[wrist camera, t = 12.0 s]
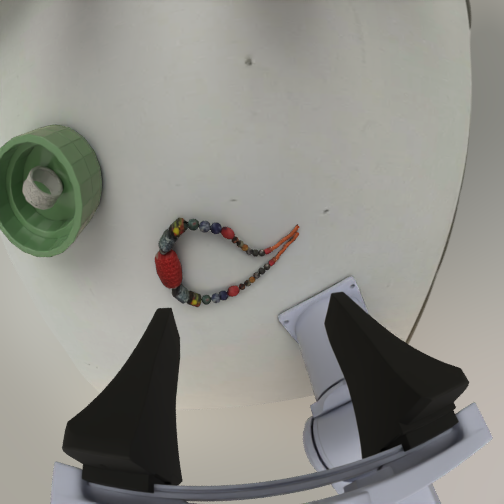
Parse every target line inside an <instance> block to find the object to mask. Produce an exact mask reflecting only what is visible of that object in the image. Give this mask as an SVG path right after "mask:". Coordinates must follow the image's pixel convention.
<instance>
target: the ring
mask: <svg viewBox="0 0 504 504" xmlns="http://www.w3.org/2000/svg"><path fill="white" fill-rule="evenodd" d="M50 172H52V173H50ZM55 176H56V177H55ZM33 181H38V182H41V183H43V184H44V185H45V186H46V187H47V188H48V189H49V190H50V192H51V194H47V193H45V192H43V191H42V190H40V189H39V188H38V187H37V185H36V184H35V183H34V182H33ZM62 191H63V185H62V182H61V180H60V178H59V176H58V175H57V174H56V173H55V172H54V171H53V170H51V169H49V168H48V167H44V166H36V167H34V168H32V169H31V171H30V172H29V175H28V177H27V179H26V180H25V181H24V184H23V191H22V192H23V194H24V196H25V198H26V200H27V201H28V202H29V203H30V204H31V205H32V206H34V207H35V208H39V209H42V210H45V209H49V208H52V207H53V205H54V203H55V202H56V201H57V198H59V197H60V195H61V193H62ZM31 201H32V202H31Z"/></svg>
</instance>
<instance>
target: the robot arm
mask: <svg viewBox="0 0 504 504" xmlns="http://www.w3.org/2000/svg"><path fill="white" fill-rule="evenodd" d="M352 284H353V285H352ZM351 285H352V286H351ZM278 319H279V321H280V323H281V324H282V325H283V326H284V327H285V329H286V330H287V331H288V332H289V333H290V335H291V336H292V337H293V338H294V339H295V341H296V342H297V343H298V344H299V346H300V349H301V353H302V356H303V359H304V362H305V366H306V369H307V372H308V375H309V378H310V382H311V385H312V388H313V392H314V395H315V398H316V401H317V402H315V403H314V404H312V405H311V406H310V407H311V411H312V414H313V416H311V417H310V418H308V419H307V421H306V423H305V428H304V431H303V444H304V448H305V452H306V455H307V457H308V459H309V461H310V463H311V465H312V466H313V467H314V469H315V470H316V471H317V472H316V473H311V474H307V475H302V476H298V477H292V478H287V479H281V480H274V481H267V482H259V483H250V484H239V485H223V486H177V485H179V484H180V483H181V482H182V475H181V469H180V461H179V453H178V443H177V429H176V393H177V382H178V373H179V363H180V337H179V333H178V330H177V326H176V323H175V319H174V316H173V312H172V308H158V309H157V310H156V312H155V314H154V316H153V318H152V320H151V322H150V324H149V325H148V327H147V329H146V331H145V333H144V334H143V336H142V338H141V339H140V341H139V343H138V345H137V346H136V348H135V349H134V351H133V352H132V354H131V355H130V357H129V359H128V360H127V361H126V363H125V364H124V366H123V367H122V368H121V370H120V371H119V372H118V374H117V375H116V376H115V377H114V379H113V380H112V381H111V382H110V383H109V384H108V386H107V387H106V388H105V389H104V390H103V391H102V392H101V393H100V394H99V395H98V396H97V397H96V398H95V399H94V400H93V401H92V402H91V403H90V404H89V405H88V406H87V407H86V408H85V409H83V410H82V411H81V412H80V413H78V414H77V415H76V416H75V417H73V418H72V419H71V420H69V421H68V423H67V426H66V429H65V434H64V440H63V446H62V449H63V451H64V452H65V453H66V454H67V455H69V456H70V457H72V458H74V459H75V460H77V461H79V462H80V463H82V464H83V470H82V469H80V468H77V467H74V466H70V465H66V464H63V463H60V462H55V463H54V470H53V479H52V490H51V504H194V503H188V502H186V501H231V500H244V499H255V498H264V497H271V496H277V495H284V494H290V493H295V492H300V491H304V490H309V489H314V488H318V487H322V486H325V485H329V484H331V485H332V487H333V488H334V489H335V490H336V492H337V493H338V494H339V495H336V496H333V497H329V498H325V499H321V500H317V501H312V502H308V503H303V504H441V502H440V500H439V498H438V496H437V493H436V491H435V489H434V487H433V484H432V483H433V482H435V481H436V480H438V479H439V478H441V477H443V476H444V475H446V474H447V473H449V472H450V471H451V470H453V469H454V468H455V467H457V466H458V465H460V464H461V463H462V462H464V461H465V460H466V459H468V458H469V457H470V456H472V455H473V454H474V453H476V452H477V451H478V450H479V449H481V448H482V447H483V446H485V445H486V444H487V443H488V442H489V441H491V440H492V435H491V433H490V431H489V429H488V427H487V425H486V423H485V421H484V419H483V417H482V415H481V413H480V411H479V409H478V407H477V405H476V403H475V402H474V403H472V404H470V405H469V406H467V407H465V408H464V409H462V410H461V411H459V412H458V413H456V414H455V413H454V411H453V410H454V409H455V408H456V406H455V404H454V401H455V400H456V399H457V398H458V397H459V396H460V395H461V394H462V393H463V392H464V391H465V389H466V388H467V386H468V384H469V381H468V380H467V378H466V376H465V374H464V373H463V371H462V370H461V368H458V367H455V366H452V365H450V364H447V363H444V362H441V361H439V360H437V359H434V358H432V357H430V356H428V355H426V354H424V353H422V352H420V351H419V350H417V349H414V348H413V347H411V346H410V345H408V344H407V343H405V342H404V341H402V340H401V339H399V338H398V337H396V336H395V335H393V334H392V333H391V332H389V331H388V330H387V329H386V328H384V327H383V326H382V325H380V324H379V323H378V322H377V321H376V320H374V319H373V318H372V317H371V316H370V315H369V314H368V311H367V308H366V306H365V303H364V300H363V298H362V295H361V293H360V290H359V288H358V285H357V283H356V280H355V279H354V277H348V278H346V279H344V280H343V281H341V282H339V283H337V284H335V285H334V286H332V287H330V288H328V289H326V290H325V291H323V292H321V293H319V294H317V295H315V296H314V297H312V298H310V299H308V300H306V301H304V302H302V303H300V304H299V305H297V306H295V307H293V308H291V309H289V310H287V311H285V312H283V313H281V314H280V315H279V316H278ZM285 320H287V321H285Z"/></svg>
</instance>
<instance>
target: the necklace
mask: <svg viewBox="0 0 504 504" xmlns="http://www.w3.org/2000/svg"><path fill="white" fill-rule="evenodd" d="M187 223H188V224H187ZM187 225H188V226H187ZM198 227H199V228H200V230H201V231H202V232H208V231H209V230H211V232H212V233H214V234H218V233H221V234H222V236H223V237H224V238H227V239H232V242H233V243H237V246H238V247H241V249H242V250H243V251H246V253H247V254H249V255H250V254H252V255H253V256H258V255H260V256H264V255H265V254H269V253H271V252H272V251H273V250H274V249H276V248H277V247H279V246H280V244H282V243H283V242H285V241H286V240H288V239H289V238H290V237H292V236H293V235H294V233H296V234H295V235H294V236H293V238H292V239H290V240H289V241H288V242H287V243H286V244H285V245H284V247H283V248H282V249H281V251H279V252H278V254H277V256H276V257H273V258H272V259H271V260H270V261H269V264H265V265H264V269H263V268H260V269H259V273H258V272H256V273H254V277H250V278H249V280H246V281H245V283H244V284H240V285H239V287H238V286H231V287H229V288H228V290H227V292H226V291H221V292H220V293H219V294H217V293H215V294H213V295H212V297H210V296H209V295H204V296H203V297H202V299H201V295H200V294H197V293H194V292H192V291H188V290H187V289H186V288H185V287H183V286H182V285H181V282H182V268H181V263H180V261H179V259H178V256H177V254H176V252H175V251H173V250H172V247H173V245H174V244H175V242H176V241H177V237H179V236H180V235H181V234H182V233H184V232H185V231H186V230H187V229H188V228H189V229H190V230H193V231H194V230H196V229H198ZM298 228H299V226H298V224H297V225H296V227H295V228H294V230H293V231H292V232H291V233H290V234H289V235H287V236H285V237H284V238H283V239H282V240H281V241H279V242H278V243H277V244H276V245H274V246H273V247H272V248H271V247H269V248H267V249H265V250H263V249H261V250H259V252H258V250H253V249H251V248H248V246H247V245H246V244H244V243H243V241H241V240H239V239H238V237H236V236H235V234H234V232H233V230H232V229H231V228H228V227H223V228H222V227H221V225H220V224H219V223H213V224H212V225H211V226H210V223H209V222H208V221H202V222H201V223H200V225H199V222H198V221H197V220H196V219H191V220H189V221H188V222H186V221H185V220H184V219H183V218H178V219H177V220H176V221H175V222H174V223H173V224H171V225H170V228H169V230H166V231H165V232H164V234H163V235H162V237H161V239H160V241H159V248H160V250H159V252H158V253H157V254H156V256H155V264H156V270H157V274H158V276H159V278H160V280H161V282H162V283H163V285H164V286H165V287H167V288H169V289H170V288H172V295H173V297H175V298H176V299H177V300H178V301H180V302H181V303H183V304H184V303H186V302H187V304H189V305H192V306H195V307H199V306H200V304H201V300H202V302H203V303H204V304H209V303H210V302H211V300H212V301H213V302H214V303H218V302H219V301H220V300H226V299H227V298H228V295H229V296H231V297H233V296H236V295H238V293H239V292H240V289H241V290H243V289H245V286H250V285H251V283H253V282H255V278H256V279H258V278H259V277H260V274H264V273H265V270H269V268H270V266H272V265H274V264H275V262H276V261H277V260H278V258H279V256H280V255H281V254H282V253H283V252H284V251H285V250H286V248H287V247H288V246H289V245H290V244H291V243H292V242H293V241H295V239H296V238H297V236H298V235H299V233H298V232H296V231H297V230H298ZM243 244H244V245H243Z"/></svg>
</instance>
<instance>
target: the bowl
mask: <svg viewBox="0 0 504 504" xmlns="http://www.w3.org/2000/svg"><path fill="white" fill-rule="evenodd" d="M36 166H44V167H48V168H49V169H51V170H53V171H54V172H55V173H56V174H57V175H58V176H59V178H60V180H61V182H62V185H63V191H62V193H61V195H60V197H59V198H57V201H56V202H55V203H54V205H53V207H52V208H49V209H45V210H42V209H39V208H35V207H34V206H32V205H31V204H30V203H29V202H28V201H27V200H26V198H25V196H24V194H23V192H22V191H23V184H24V181H25V180H26V179H27V177H28V175H29V172H30V171H31V169H32V168H34V167H36ZM50 173H52V172H50ZM55 177H56V176H55ZM33 182H34V183H35V184H36V185H37V187H38V188H39V189H40V190H42V191H43V192H45V193H47V194H51V192H50V190H49V189H48V188H47V187H46V186H45V185H44V184H43V183H41V182H38V181H33ZM101 192H102V179H101V169H100V166H99V163H98V160H97V158H96V155H95V152H94V150H93V149H92V148H91V146H90V145H89V144H88V142H87V141H86V140H85V138H84V137H83V136H81V135H80V134H78V133H77V132H75V131H74V130H72V129H71V128H69V127H65V126H60V125H50V126H45V127H41V128H38V129H35V130H32V131H30V132H27V133H24V134H21V135H19V136H16V137H14V138H12V139H11V140H10V141H8V142H7V143H6V144H5V145H3V146H2V147H1V149H0V229H1V231H2V232H3V233H4V235H5V236H6V237H7V238H8V240H9V241H10V242H11V243H12V244H14V245H15V246H16V247H18V248H19V249H20V250H22V251H23V252H25V253H28V254H31V255H33V256H36V257H52V256H55V255H57V254H60V253H63V252H64V251H65V250H66V249H67V248H68V247H69V246H70V245H71V244H72V243H73V242H74V241H75V240H76V238H77V237H78V236H79V234H80V233H81V232H82V230H83V229H84V228H85V226H86V225H87V224H88V223H89V221H90V220H91V219H92V217H93V215H94V214H95V212H96V210H97V208H98V206H99V203H100V197H101ZM31 202H32V201H31Z"/></svg>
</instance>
